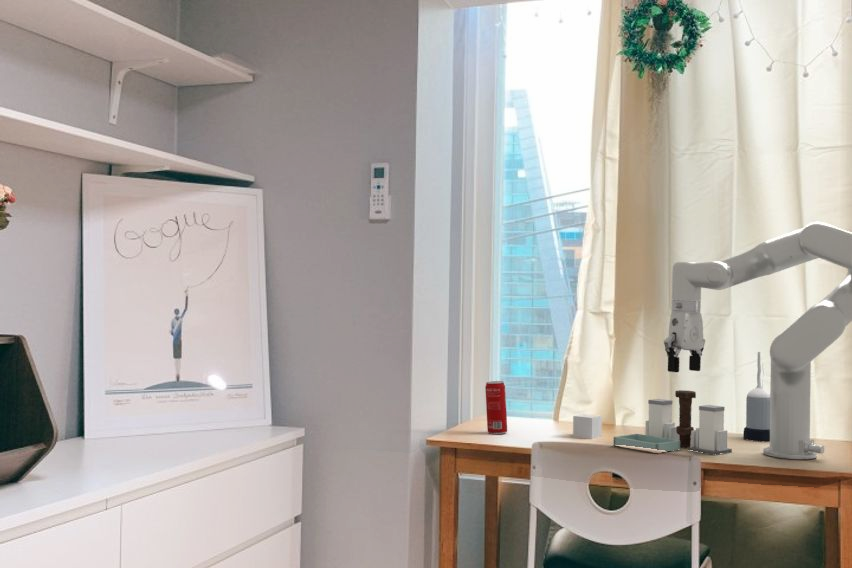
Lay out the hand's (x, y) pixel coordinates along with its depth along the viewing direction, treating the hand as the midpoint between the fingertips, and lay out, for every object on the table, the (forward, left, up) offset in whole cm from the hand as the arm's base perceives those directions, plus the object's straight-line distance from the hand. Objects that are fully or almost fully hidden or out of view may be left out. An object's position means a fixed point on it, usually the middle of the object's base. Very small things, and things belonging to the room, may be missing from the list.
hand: (684, 371), depth 235 cm
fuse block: (0, 0, -20) cm, 20 cm away
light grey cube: (+27, +8, -21) cm, 35 cm away
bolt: (0, 0, -21) cm, 21 cm away
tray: (+5, +10, -20) cm, 23 cm away
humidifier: (-4, -30, -21) cm, 37 cm away
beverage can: (+46, +26, -21) cm, 56 cm away
